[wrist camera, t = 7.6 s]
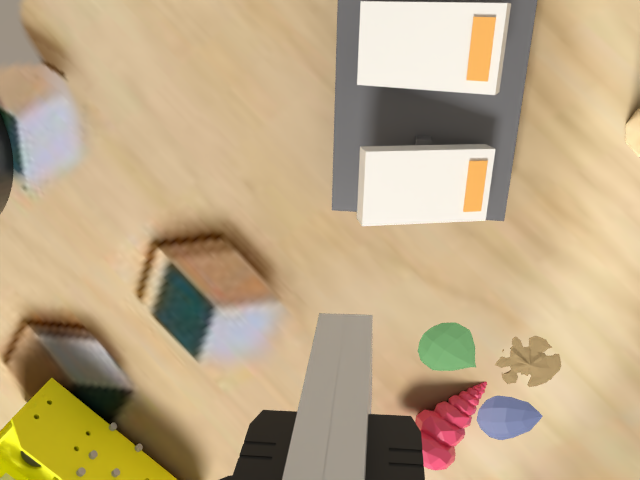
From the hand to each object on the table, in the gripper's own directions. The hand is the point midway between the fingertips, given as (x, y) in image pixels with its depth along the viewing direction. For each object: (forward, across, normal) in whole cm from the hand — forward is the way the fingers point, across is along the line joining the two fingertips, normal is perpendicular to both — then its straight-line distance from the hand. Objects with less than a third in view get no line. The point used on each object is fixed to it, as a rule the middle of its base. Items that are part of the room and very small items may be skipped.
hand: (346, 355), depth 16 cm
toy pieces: (+21, +8, -16) cm, 28 cm away
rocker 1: (+16, +3, 0) cm, 17 cm away
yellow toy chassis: (+22, -21, -25) cm, 39 cm away
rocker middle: (+16, +3, +7) cm, 18 cm away
